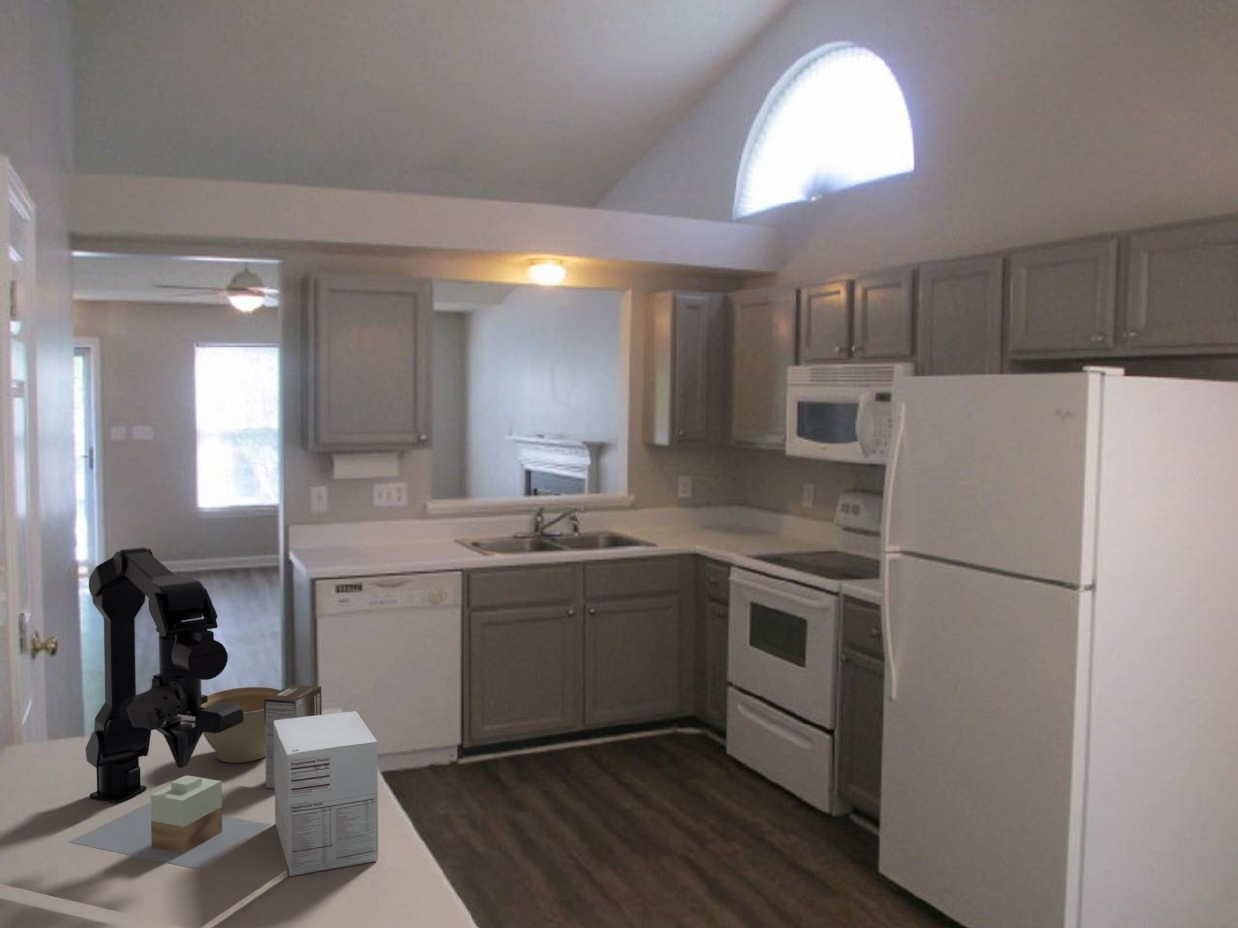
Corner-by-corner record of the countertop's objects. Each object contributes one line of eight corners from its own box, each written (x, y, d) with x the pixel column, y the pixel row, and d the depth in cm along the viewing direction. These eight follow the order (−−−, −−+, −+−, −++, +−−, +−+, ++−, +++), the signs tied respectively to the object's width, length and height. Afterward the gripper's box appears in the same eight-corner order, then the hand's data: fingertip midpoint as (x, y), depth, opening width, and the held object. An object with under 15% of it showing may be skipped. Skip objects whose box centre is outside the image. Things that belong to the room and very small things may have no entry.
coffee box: (291, 769, 187) (290, 683, 186) (323, 772, 186) (322, 685, 185) (264, 788, 178) (263, 697, 177) (298, 791, 177) (297, 700, 176)
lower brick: (183, 853, 150) (182, 819, 150) (151, 847, 152) (150, 813, 152) (222, 831, 158) (221, 799, 157) (191, 825, 160) (190, 793, 159)
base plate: (68, 849, 154) (68, 841, 154) (150, 809, 169) (150, 801, 169) (196, 876, 146) (196, 868, 145) (270, 831, 161) (270, 824, 160)
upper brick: (183, 826, 150) (182, 792, 149) (151, 820, 152) (150, 786, 152) (222, 806, 157) (221, 773, 157) (190, 800, 159) (190, 768, 159)
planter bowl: (178, 763, 189) (177, 705, 189) (239, 736, 204) (238, 682, 204) (249, 775, 184) (248, 716, 183) (306, 746, 199) (305, 691, 198)
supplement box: (381, 861, 151) (380, 741, 150) (287, 878, 145) (285, 754, 144) (358, 817, 167) (357, 708, 165) (273, 831, 161) (271, 718, 160)
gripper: (88, 672, 149) (91, 777, 150) (190, 686, 142) (192, 795, 144) (147, 654, 159) (149, 752, 160) (245, 666, 153) (246, 768, 154)
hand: (182, 767), depth 154 cm, fingers closed
